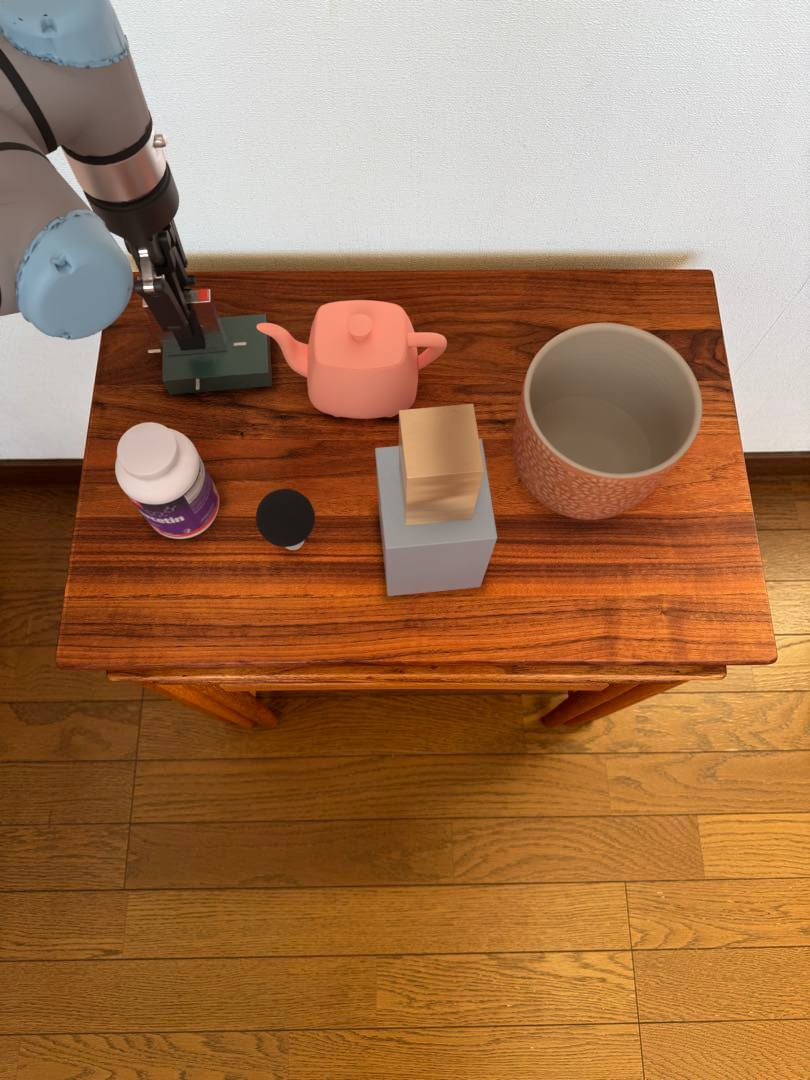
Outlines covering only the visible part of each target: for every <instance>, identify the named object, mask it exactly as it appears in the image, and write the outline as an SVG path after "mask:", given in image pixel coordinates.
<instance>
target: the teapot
mask: <svg viewBox="0 0 810 1080" xmlns="http://www.w3.org/2000/svg"><path fill="white" fill-rule="evenodd" d="M256 327H257V329H258V330H259V331H260V332H262V333H264V334H267V335H269V336H270V338H272V339H273V340H275V342H276V343H277V344H278V346H279V348H280V350H281V352H282V355H283V357H284V359H285V362H286V364H287V365H288V366H289V367H290V368H291V369H292V370H293V371H294V372H295V373H297V374H298V375H300V376H301V377H304V378H306V385H307V394H308V399H309V402H310V403H311V405H313V407H314V408H316V409H317V410H318V411H320V412H322V413H324V414H327V415H331V416H333V417H335V418H341V417H342V418H348V419H357V420H358V419H359V420H366V419H367V420H369V419H378V418H392V417H395V416H397V415H399V410H408V409H411V407H412V406H413V405H414V404H415V400H416V398H417V393H418V386H419V385H418V384H419V383H418V382H419V371H420V370H422V369H424V368H425V367H426V366H428V365H430V364H431V363H433V362H434V361H435V360H437V359H438V358H440V357H441V356H442V355H443V354H444V352H445V351H446V348H447V346H448V342H447V338H446V337H445V336H444V335H443V334H440V333H437V332H429V331H427V332H426V331H425V332H422V331H421V332H418V331H417V332H416V331H415V330H414V327H413V324H412V322H411V319H410V318H409V316H408V314H407V313H406V311H405V310H404V308H403V307H402V306H400V305H399V304H397V303H392V302H388V301H380V300H372V299H371V300H368V299H353V300H352V299H350V300H339V301H338V300H337V301H332V302H328V303H325V304H322V305H320V306H319V308H318V309H317V311H316V313H315V316H314V318H313V321H312V323H311V328H310V334H309V340H308V343H305V342H300V341H298V340H297V339H295V338H294V337H293V336H292V335H291V334H290V332H289V331H288V330H287V329H286V328H284V327H282V326H280V325H278V324H275V323H270V322H268V323H260V324H258V325H257V326H256ZM418 348H426V349H425V350H424V351H422V353H421V352H420V354H418Z"/></svg>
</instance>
